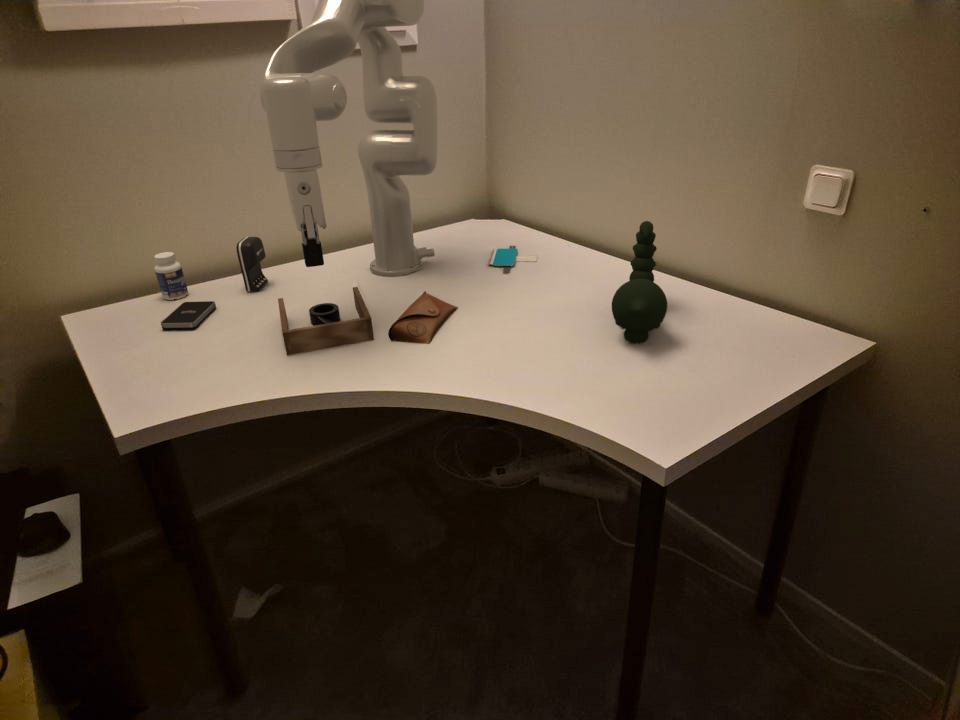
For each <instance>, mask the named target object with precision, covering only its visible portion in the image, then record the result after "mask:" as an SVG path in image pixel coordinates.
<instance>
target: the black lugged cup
mask: <svg viewBox="0 0 960 720" xmlns="http://www.w3.org/2000/svg"><path fill="white" fill-rule="evenodd" d="M308 313H309V317H310V318H309V319H310V323H311V326H315V325H321V324H327V323H333V322H340V321H341V316H340V315H341V314H340V309H339V305H338V304H336V303H333V302H325V303H324V302H323V303H319V304H316V305H313V306H311V307H310V308H309V309H308Z"/></svg>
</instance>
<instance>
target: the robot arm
mask: <svg viewBox="0 0 960 720" xmlns="http://www.w3.org/2000/svg"><path fill="white" fill-rule="evenodd" d="M424 9H425V0H319V1H318V3H317V6H316V8H315V11H314V13H313V16H312V18H311V20H310V23H309V24H307V25H306V26H303V27H302V28H301V29H299V30H298V31H296V32H295V33H294V34H292V36H290V37H289V38H288V39H286V40H285V41H284V42H283V43H281V44H280V45H279V46H278V47H277V48H276V49H275V50H274V52H273V53H272V55H271V56H270V58H269V60H268V63H267V65H266V67H265V70H264V72H263V76H262V78H261V82H260V87H259V97H260V98H259V99H260V103H261V106H262V108H263V110H264V112H265V114H266V119H267V125H268V132H269V137H270V142H271V148H272V155H273V160H274V165H275V170H276V172H279V173H281V172H282V173H284V178H285V179H284V180H285V183H286V189H287V195H288V199H289V205H290V209H291V212H292V216H293V219H294V223H295V225H296V228H297V230H298V231H299V232H300V233H301V238H302V243H301V246H302V247H301V248H302V253H303V254H302V255H303V259H304V264H305V267H307V268H311V267H312V268H313V267H319V266H324V264H325V262H324V261H325V260H324V253H323V248H322V246H323V245H322V243H321V241H320V234H319V228H322V229H323V230H325V229H327V227H328V226H327V222H326V215H325V207H324V203H323V202H324V201H323V196H322V190H321V183H320V179H319V175H318V169H321V168H323V160H322V155H321V147H320V140H319V132H318V127H317V122H328V121H329V122H330V121H333V120H336V119H338V118H340V117H341V115H342V114H343V113H344V111H345V109H346V107H347V103H348V102H347V101H348V95H347V91H346V89H345V86H344V84H343V83H342V81H341V80H340V79H339V78H338V77H337V76H335V75H333V74H330V73H327V72H316V71H320V70H323V69H325V68H328V67H331V66H333V65H335V64H338V63H340V62H342V61H344V60H346V59H348V58H349V57H350V56H352V54H353V53H354V52H355V50H356V47H357V44H358V46H359V50H360V53H361V63H362V91H363V93H362V94H363V95H362V96H363V107H364V109H363V110H364V113H365V116H366V117H367V119H368V120H369V121H371V122H373V123H377V124H378V123H379V124H412V126H413V129H376V130H371V131H368V132H366V133H364V134H363V135H362V136H361V137H360V138H359V140H358V144H357V153H358V159H359V163H360V166H361V171H362V173H363V176H364V181H365V185H366V192H367V198H368V199H367V200H368V207H369V215H370V216H369V217H370V223H371V224H370V226H371V233H372V242H373V248H374V256H375V257H374V258H375V259H373V260H372V261H371V262H370V263H369V270H370V271H371V272H372V273H373V274H376V275H380V276H386V277H387V276H389V277H390V276H391V277H394V276H395V277H398V276H405V275H408V274H411V273H415V272H416V271H418V270H420V269H421V268H422V267H423V260H422V259H423V258H430V257H432V258H433V257H435V249H434V248H432V247H431V248H428V247H427V246H425V247H419V248H418V247H416V246H415V242H414V240H415V239H414V229H413V220H412V219H413V218H412V217H413V216H412V207H411V205H412V204H411V197H410V192H409V189H408V187H407V185H406V183H405V182H404V181H403V179H402V178H401V177H400V176H427V175H430V174H432V173H433V172H434V171H435V169H436V167H437V161H438V100H437V93H436V90H435V86H434V84H433V82H432V81H431V80H430V79H429V78H428V77H426V76H424V75H423V76H421V75H404V74H403V53H402V49H401V47H400V45H399V44H398V42H397V40H396V38H394V36H393V35H392V34H391V33H390V31H389V30H388V29H387V28H388V27H389V28H390V27H391V28H392V27H407V26H408V27H409V26H415V25H416V24H418V23H419V22H420V20H421V19H422V18H423V17H422V16H423V15H424ZM318 227H319V228H318Z"/></svg>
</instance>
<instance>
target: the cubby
mask: <svg viewBox="0 0 960 720" xmlns="http://www.w3.org/2000/svg"><path fill="white" fill-rule="evenodd" d="M352 293H353V299H354V306H355V310H356V312H357V315H358V318H353V319H346V320H340V322H333V323H327V324H321V325H315V326H313V325H310V326H304V327H298V328H291V329H290V328H289V323H288V316H287V312H286V307H285V302H284V301H285V300H284V298H283V297H280V298H277V303H278V310H279V318H280V319H279V320H280V326H281V334H282V338H283V344H284V349H285V354H286V356H291V355H298V354H304V353H310V352H315V351H321V350H325V349H326V350H327V349H332V348H336V347H337V348H338V347H342V346H343V347H344V346H348V345H350V346H351V345H355V344H361V343H366V342H372V341H375V336H374V335H375V334H374V326H373V321H372V316H371V314H370V311H369V308H368V307H367V305H366V302H365V300H364V298H363V296H362V294H361V292H360V289H359V286H353V287H352Z"/></svg>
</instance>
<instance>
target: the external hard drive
mask: <svg viewBox="0 0 960 720" xmlns="http://www.w3.org/2000/svg"><path fill="white" fill-rule="evenodd" d="M215 309H216V310H217V306H216V301H215V300H209V301H208V300H207V301H205V300H203V301H201V300H199V301H184V302H182V303H181V304H180V305H178V306H177V307H176V308H175V309H174V310H173V311H171V313H170V314H168V315H167V316H166V317H165V318H164V319H163V320H161V321H160V326H161V328H162V330H163V331H166V332H167V331H168V332H169V331H170V332H171V330H176V331H178V330H179V331H195V330H197V329H198V328H199V327H200V326H201V325H202V324H203V323H204V322H205V321H206V320H207V319H208V318H209V317H210V316H211V315H212V314H213V313H214V312H215V311H216V310H215ZM214 310H215V311H214ZM213 311H214V312H213ZM212 312H213V313H212ZM211 313H212V314H211ZM210 314H211V315H210ZM209 315H210V316H209ZM208 316H209V317H208ZM207 317H208V318H207ZM206 318H207V319H206ZM205 319H206V320H205ZM204 320H205V321H204ZM203 321H204V322H203ZM202 322H203V323H202ZM201 323H202V324H201ZM200 324H201V325H200ZM176 331H175V332H176Z"/></svg>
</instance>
